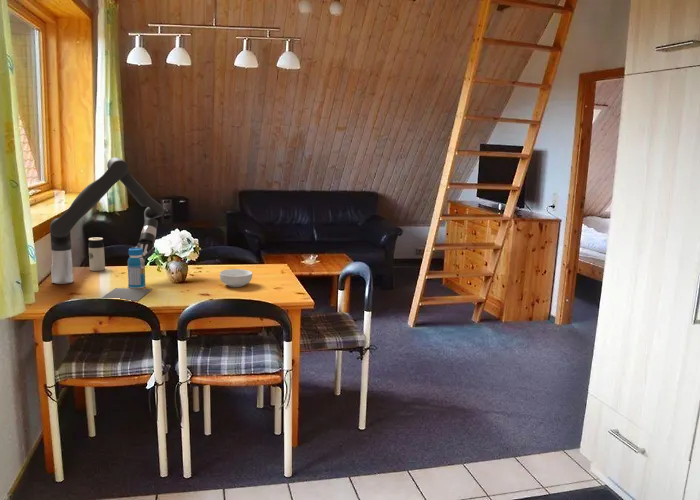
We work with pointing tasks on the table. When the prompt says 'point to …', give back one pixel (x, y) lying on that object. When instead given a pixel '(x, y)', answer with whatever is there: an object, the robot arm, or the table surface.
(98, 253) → the travel mug
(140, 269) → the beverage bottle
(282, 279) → the table surface
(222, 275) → the cereal bowl
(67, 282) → the robot arm
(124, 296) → the mat
